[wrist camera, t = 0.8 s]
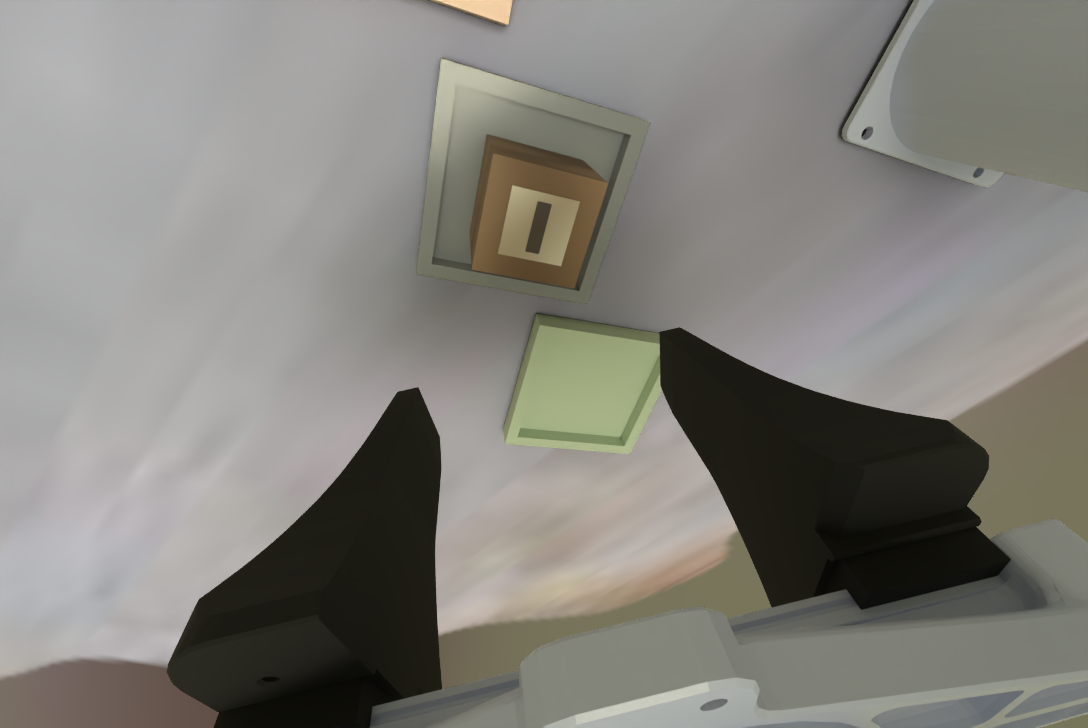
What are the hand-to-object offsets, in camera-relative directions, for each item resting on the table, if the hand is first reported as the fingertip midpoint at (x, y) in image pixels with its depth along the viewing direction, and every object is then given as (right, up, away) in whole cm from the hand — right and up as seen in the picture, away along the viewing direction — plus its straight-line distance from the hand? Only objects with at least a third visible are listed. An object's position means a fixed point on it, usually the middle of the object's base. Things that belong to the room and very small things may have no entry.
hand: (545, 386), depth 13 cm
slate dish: (-1, +8, +6) cm, 10 cm away
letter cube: (-1, +8, +6) cm, 10 cm away
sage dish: (+2, -1, +13) cm, 13 cm away
